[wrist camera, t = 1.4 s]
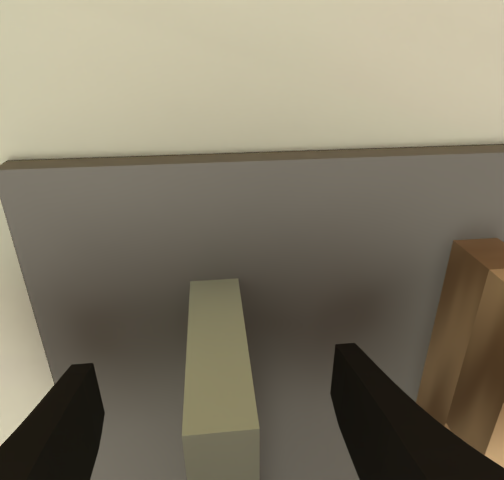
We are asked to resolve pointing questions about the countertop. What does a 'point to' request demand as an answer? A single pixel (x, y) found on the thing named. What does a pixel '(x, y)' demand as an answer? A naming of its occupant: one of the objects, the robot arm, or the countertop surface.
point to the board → (243, 280)
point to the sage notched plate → (219, 387)
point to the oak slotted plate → (469, 348)
